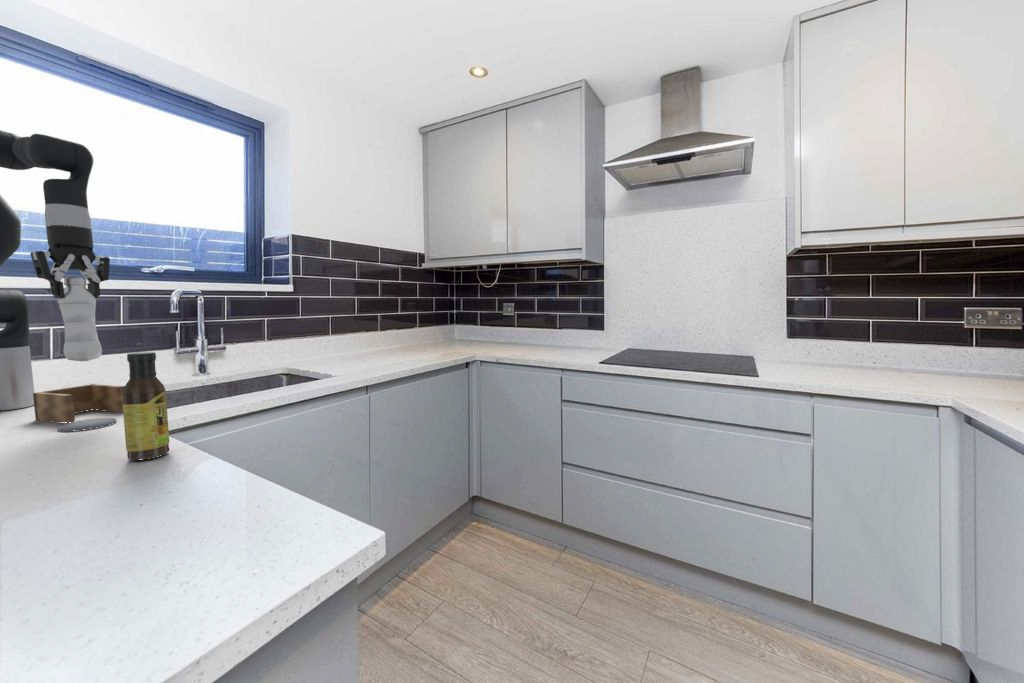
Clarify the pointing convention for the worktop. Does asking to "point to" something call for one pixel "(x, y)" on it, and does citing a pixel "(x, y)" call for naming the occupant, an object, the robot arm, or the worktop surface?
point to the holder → (76, 401)
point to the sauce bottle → (144, 409)
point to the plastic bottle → (79, 321)
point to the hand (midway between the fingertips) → (76, 297)
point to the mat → (86, 424)
